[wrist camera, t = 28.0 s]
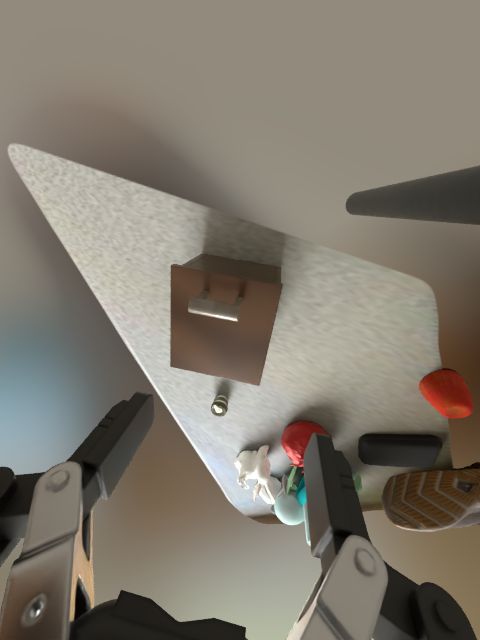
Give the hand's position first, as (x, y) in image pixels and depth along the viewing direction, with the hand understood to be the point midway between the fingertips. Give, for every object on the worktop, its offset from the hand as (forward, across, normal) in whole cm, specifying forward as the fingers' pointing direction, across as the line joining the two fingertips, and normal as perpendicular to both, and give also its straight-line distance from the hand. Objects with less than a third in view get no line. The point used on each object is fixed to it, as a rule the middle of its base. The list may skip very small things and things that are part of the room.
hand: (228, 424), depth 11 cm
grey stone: (+29, -12, +54) cm, 62 cm away
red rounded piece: (+23, -33, +14) cm, 43 cm away
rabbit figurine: (+29, -7, +44) cm, 53 cm away
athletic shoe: (+25, -45, +33) cm, 61 cm away
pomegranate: (+30, -15, +33) cm, 47 cm away
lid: (+17, +4, +5) cm, 18 cm away
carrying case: (+28, -41, +29) cm, 58 cm away
